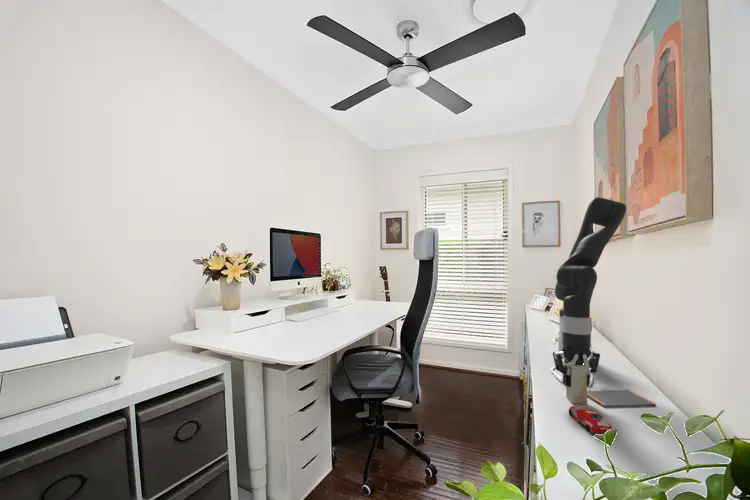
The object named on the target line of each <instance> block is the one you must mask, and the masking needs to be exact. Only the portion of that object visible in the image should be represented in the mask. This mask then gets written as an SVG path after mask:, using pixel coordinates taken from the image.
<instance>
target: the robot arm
mask: <svg viewBox="0 0 750 500" xmlns="http://www.w3.org/2000/svg"><path fill="white" fill-rule="evenodd" d="M626 212H627V205H626V204H625V203H623V202H619V201H616V200H612V199H608V198H605V197H597V196H596V197H593V198H592V199H591V200H590V202H589V203H588V206H587V208H586V210H585V214H584V217H583V221H582V224H581V227H580V228H579V232H578V235H577V237H576V240H575V242H574V244H573V246H572V248H571V251H570V253H569V256H568V258H567V260H565V261H564V262H563V263H562V264H561V265H560V266H559V268H558V269H557V272H556V281H557V282H556V284H555V289H554V295H555V297H556V299H558V300H559V301H563V302H562V308H560V310H559V314H558V315H559V331H558V336H559V335H561V336H562V340H561V342H557V343H558V349H557V352H556V351H553V352H552V356H553V357H552V358H553V362H554V367H555V366H556V368H555V370H556V372H557V371H558V372H559V373H561V374H562V379H563V383H562V384H564V386H565V387H566V386H567V387H571V375H570V373H571V368H572V367H573V366H575V365H577V364H581V365H584V366H586V367H587V388H588V386H589V384H590V378H591V375H590V374H593V373H597V371H598V368H599V363H600V358H601V354H600V353H598V352H597V351H593V350H591V351H592V352H591V351H590V347H591V345H592V340H591V339H592V334H591V333H592V329H591V328H592V324H591V314H590V313H591V310H590V309H591V302H592V301H591V300H592V297H593V293H594V290H595V287H596V285H597V280H598V274H597V271H596V270H595V267H596V266H597V264H598V262H599V260H600V258H601V256H602V254H603V252H604V250H605V248H606V246H607V244H608V243H609V242H610V240H611V239H612V238H613V237H614V234H615V233H616V232H617V230H618V228H619V227H620V225H621V223H622V222H623V220H624V217H625V215H626ZM594 225H598V226H601V227H603V228H601V229H600V230H597V231H595V232H594ZM568 362H569V363H570V364H569V363H568Z"/></svg>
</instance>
